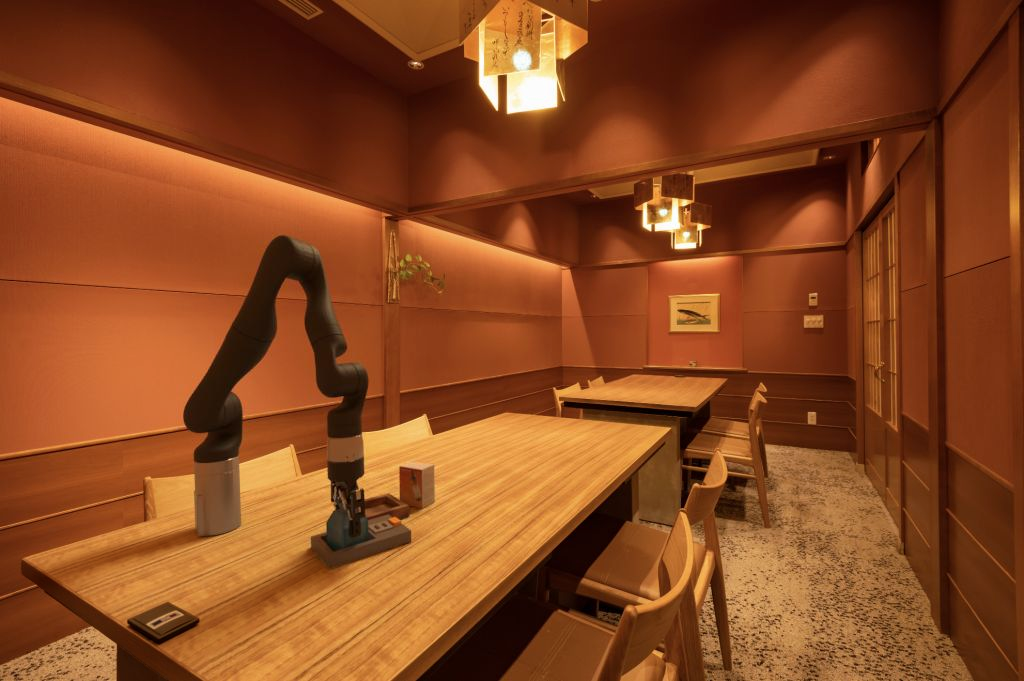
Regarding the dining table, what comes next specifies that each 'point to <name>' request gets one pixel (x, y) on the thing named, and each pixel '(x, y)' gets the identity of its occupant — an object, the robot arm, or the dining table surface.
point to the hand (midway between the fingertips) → (348, 529)
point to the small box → (417, 484)
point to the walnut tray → (385, 507)
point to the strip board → (381, 538)
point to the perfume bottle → (344, 530)
